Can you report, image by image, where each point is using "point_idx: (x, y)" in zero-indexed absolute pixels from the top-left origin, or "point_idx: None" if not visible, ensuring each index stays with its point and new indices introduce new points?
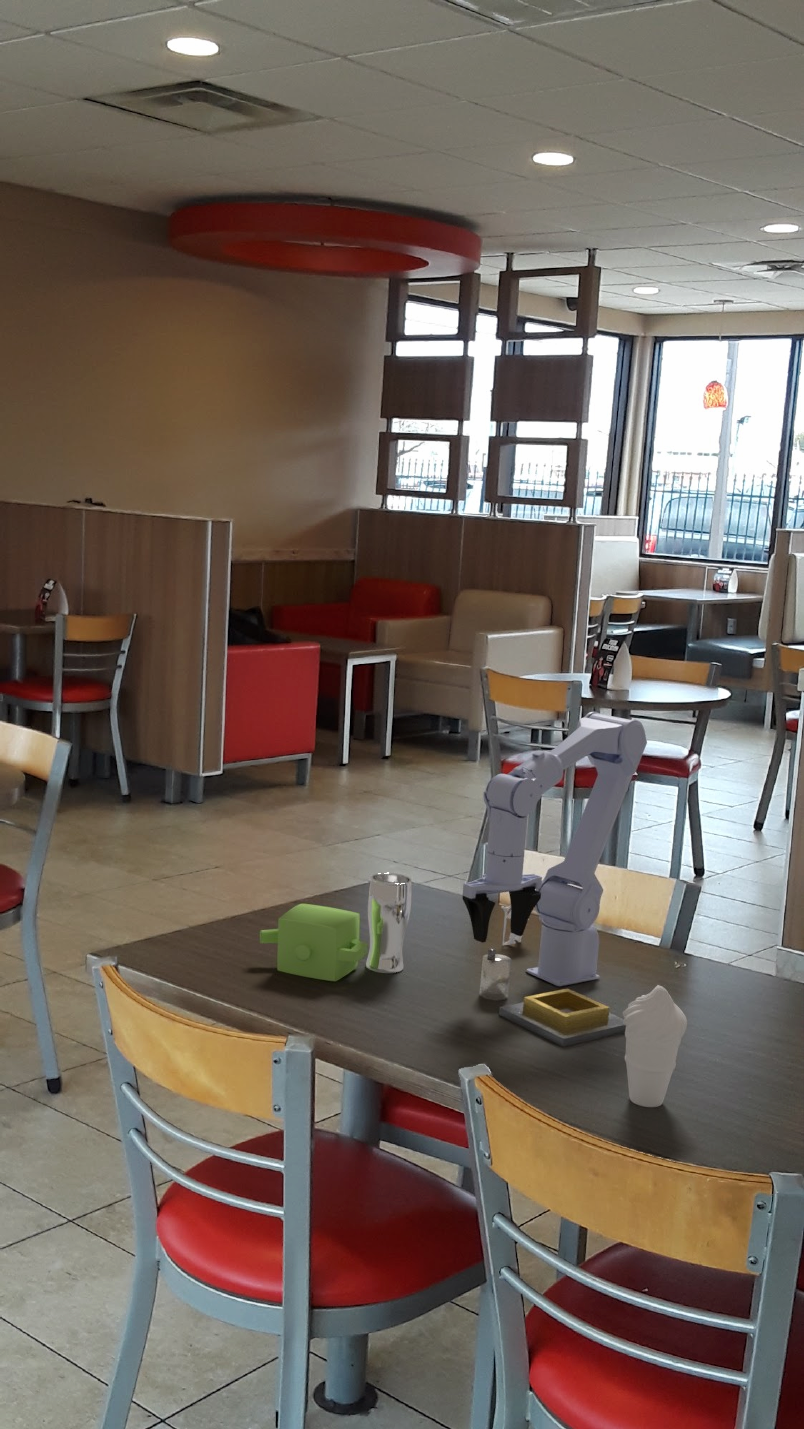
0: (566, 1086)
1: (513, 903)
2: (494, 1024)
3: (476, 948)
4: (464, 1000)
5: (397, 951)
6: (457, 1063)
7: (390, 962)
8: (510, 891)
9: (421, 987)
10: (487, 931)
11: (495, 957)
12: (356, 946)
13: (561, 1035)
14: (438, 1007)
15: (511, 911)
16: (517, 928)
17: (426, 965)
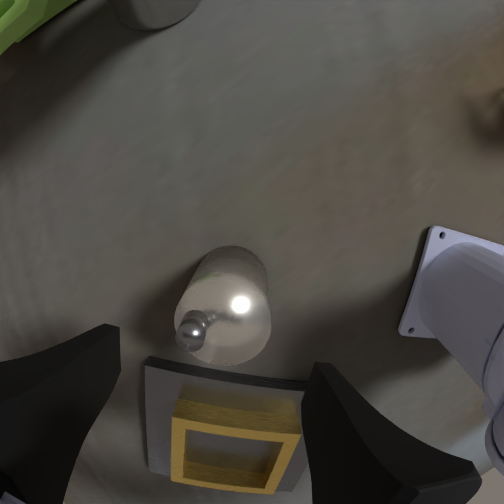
0: (86, 483)
1: (353, 457)
2: None
3: (460, 46)
4: (143, 260)
5: (137, 3)
6: None
7: (126, 16)
8: (385, 493)
9: (120, 136)
10: (101, 406)
11: (226, 317)
12: (3, 19)
13: (154, 467)
14: (70, 255)
15: (345, 414)
16: (308, 410)
17: (262, 26)
